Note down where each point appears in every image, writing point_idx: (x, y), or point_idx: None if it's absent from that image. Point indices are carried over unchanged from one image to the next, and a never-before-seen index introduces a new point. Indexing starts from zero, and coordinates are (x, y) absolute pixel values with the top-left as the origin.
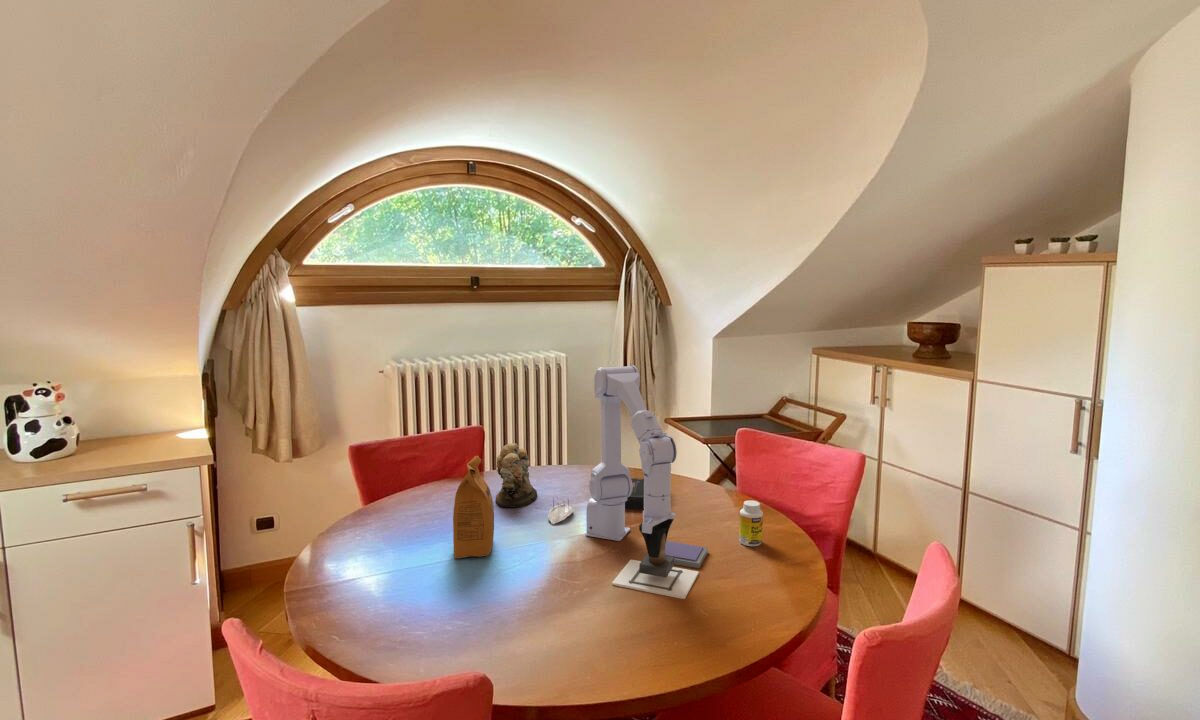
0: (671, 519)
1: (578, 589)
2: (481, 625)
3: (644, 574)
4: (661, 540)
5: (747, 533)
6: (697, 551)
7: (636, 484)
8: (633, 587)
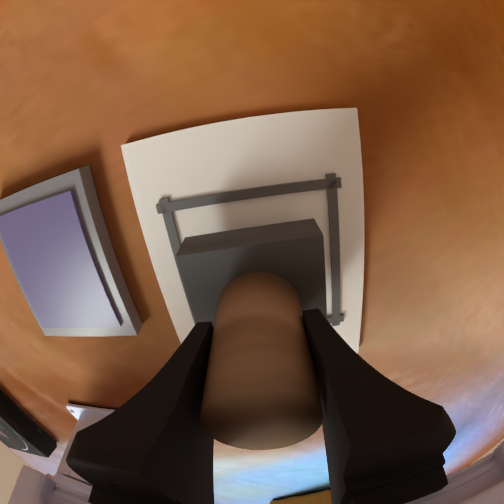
0: (131, 474)
1: (397, 384)
2: (501, 393)
3: None
4: (338, 374)
5: None
6: (22, 218)
7: None
8: (361, 297)
